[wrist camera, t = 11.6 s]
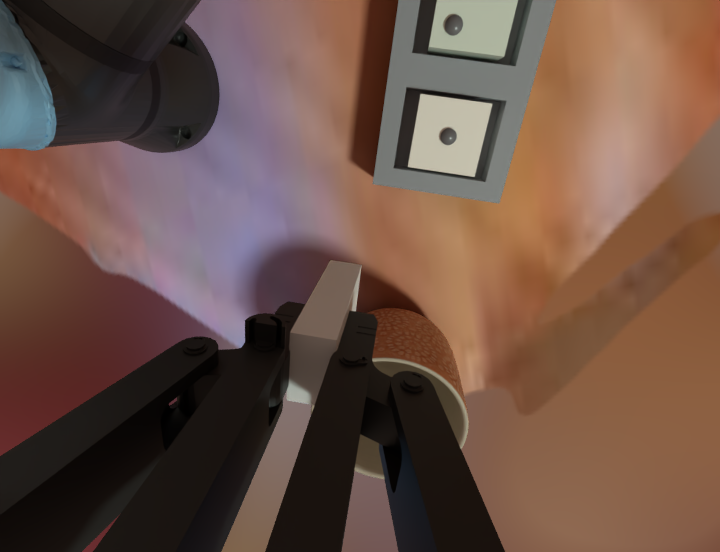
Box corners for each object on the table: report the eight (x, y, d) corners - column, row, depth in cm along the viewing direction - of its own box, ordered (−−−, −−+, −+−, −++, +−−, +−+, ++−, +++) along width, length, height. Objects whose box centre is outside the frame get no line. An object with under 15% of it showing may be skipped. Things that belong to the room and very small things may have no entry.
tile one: (408, 162, 43) (407, 167, 40) (419, 95, 41) (420, 93, 37) (469, 171, 43) (474, 177, 39) (485, 104, 40) (492, 103, 36)
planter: (313, 349, 57) (281, 425, 43) (384, 268, 50) (374, 326, 36) (401, 411, 59) (398, 502, 45) (479, 342, 53) (504, 422, 39)
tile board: (375, 178, 46) (372, 183, 42) (433, -226, 32) (436, -269, 28) (492, 196, 45) (499, 203, 41) (601, -211, 31) (627, -255, 28)
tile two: (427, 53, 39) (428, 46, 35) (441, -31, 36) (445, -48, 32) (495, 62, 39) (504, 56, 35) (515, -22, 36) (528, -39, 32)
